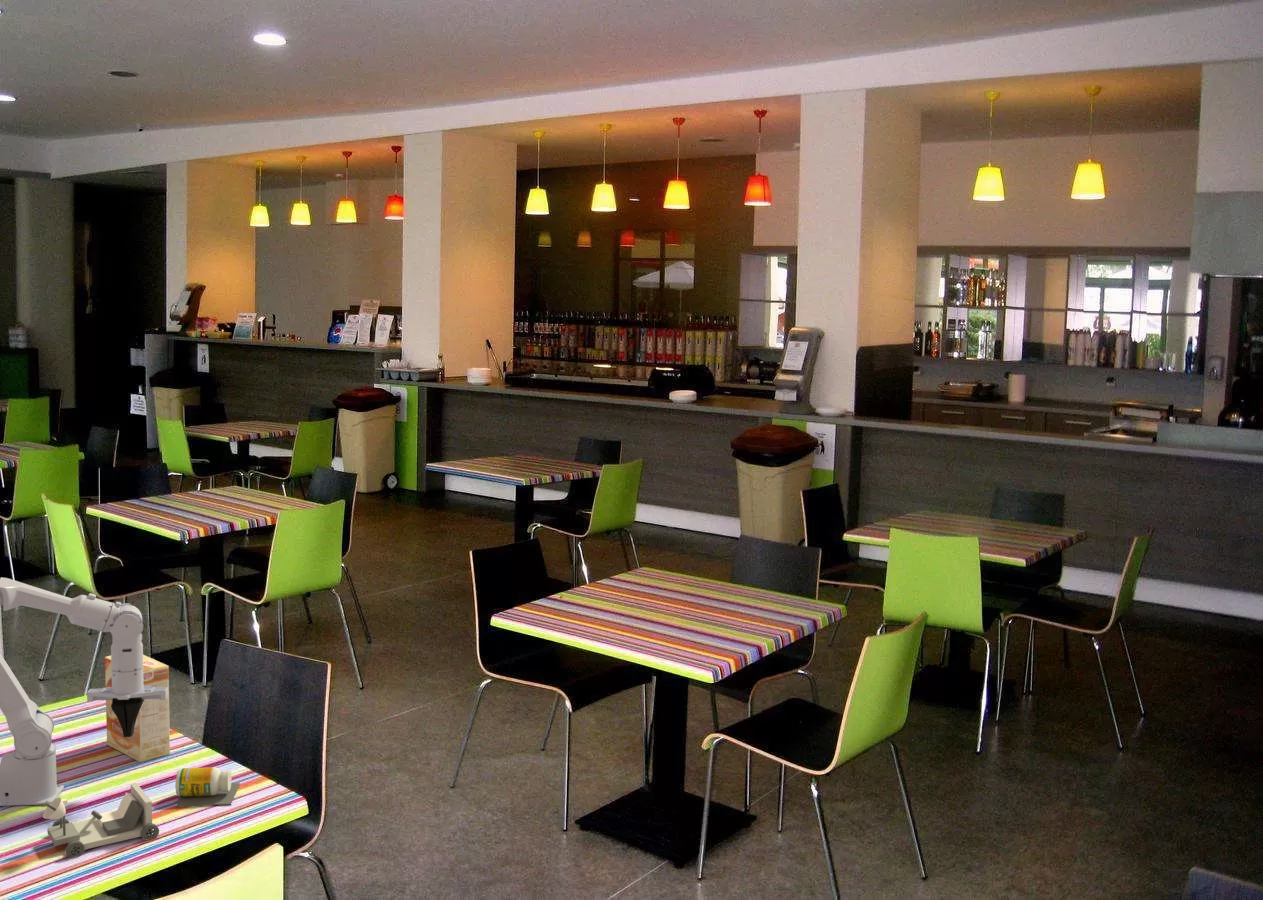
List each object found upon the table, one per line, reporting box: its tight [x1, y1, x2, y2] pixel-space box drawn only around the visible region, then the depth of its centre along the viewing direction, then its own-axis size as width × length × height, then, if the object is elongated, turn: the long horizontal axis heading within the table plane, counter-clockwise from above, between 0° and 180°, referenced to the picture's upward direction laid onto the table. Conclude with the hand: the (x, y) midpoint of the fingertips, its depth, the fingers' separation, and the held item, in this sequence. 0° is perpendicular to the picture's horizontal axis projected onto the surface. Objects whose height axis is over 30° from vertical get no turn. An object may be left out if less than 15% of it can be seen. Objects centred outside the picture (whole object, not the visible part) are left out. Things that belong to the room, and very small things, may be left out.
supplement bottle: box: [174, 766, 232, 798], centre depth 229 cm, size 5×5×10 cm
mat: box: [175, 782, 241, 808], centre depth 230 cm, size 10×10×1 cm
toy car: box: [42, 782, 160, 859], centre depth 210 cm, size 18×10×12 cm
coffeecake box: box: [104, 654, 171, 763], centre depth 251 cm, size 15×7×20 cm, turn 49°
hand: (128, 735), depth 232 cm, fingers closed
